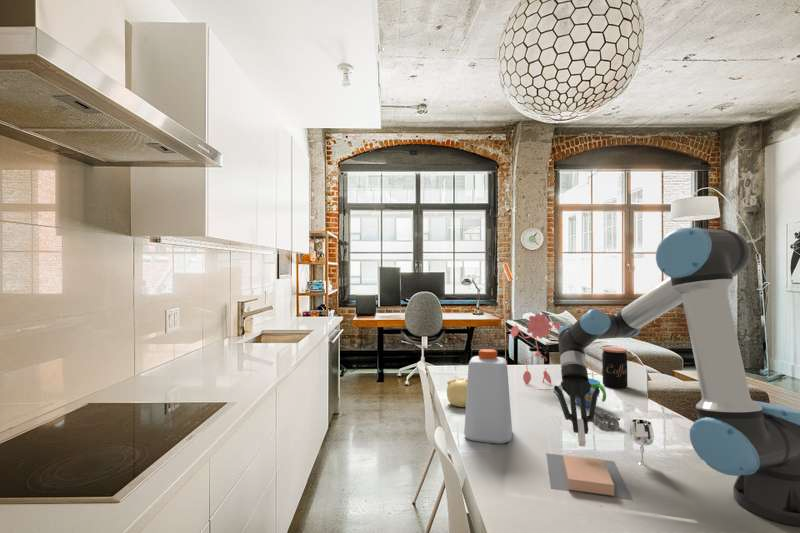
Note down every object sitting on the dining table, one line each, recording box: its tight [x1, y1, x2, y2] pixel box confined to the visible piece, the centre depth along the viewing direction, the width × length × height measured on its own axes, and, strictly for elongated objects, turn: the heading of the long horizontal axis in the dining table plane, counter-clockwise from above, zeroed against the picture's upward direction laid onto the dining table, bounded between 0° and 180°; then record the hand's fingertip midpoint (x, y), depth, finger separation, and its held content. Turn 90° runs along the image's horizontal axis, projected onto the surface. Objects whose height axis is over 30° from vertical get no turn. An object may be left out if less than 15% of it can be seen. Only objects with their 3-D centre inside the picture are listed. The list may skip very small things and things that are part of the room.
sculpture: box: [446, 377, 468, 408], centre depth 168 cm, size 12×12×11 cm
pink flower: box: [510, 312, 562, 391], centre depth 198 cm, size 15×26×35 cm, turn 94°
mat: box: [545, 452, 634, 501], centre depth 108 cm, size 21×18×1 cm
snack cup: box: [575, 377, 607, 409], centre depth 168 cm, size 16×10×10 cm
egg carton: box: [588, 409, 621, 430], centre depth 146 cm, size 11×8×4 cm
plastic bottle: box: [463, 348, 513, 445], centre depth 136 cm, size 15×15×28 cm
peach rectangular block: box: [562, 454, 614, 496], centre depth 104 cm, size 3×10×14 cm
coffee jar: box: [601, 346, 629, 390], centre depth 197 cm, size 11×11×18 cm
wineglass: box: [629, 418, 655, 466], centre depth 114 cm, size 6×6×12 cm
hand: (582, 444), depth 111 cm, fingers closed
